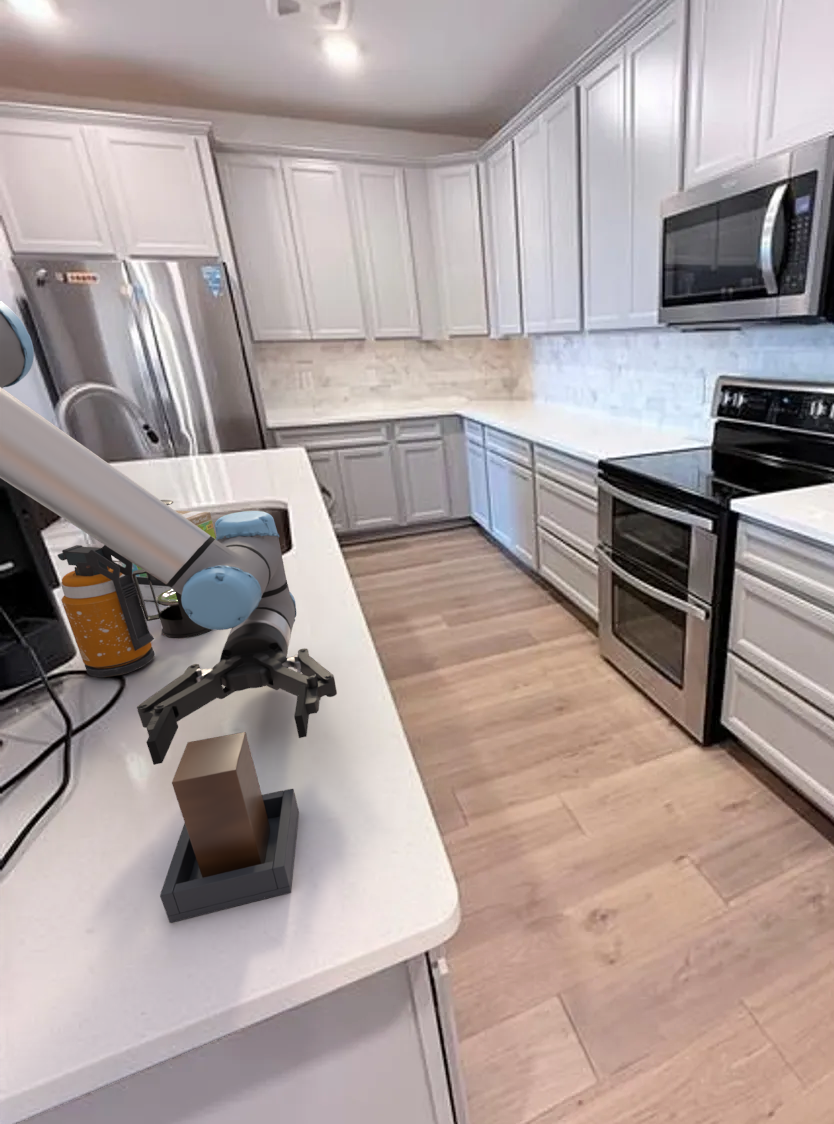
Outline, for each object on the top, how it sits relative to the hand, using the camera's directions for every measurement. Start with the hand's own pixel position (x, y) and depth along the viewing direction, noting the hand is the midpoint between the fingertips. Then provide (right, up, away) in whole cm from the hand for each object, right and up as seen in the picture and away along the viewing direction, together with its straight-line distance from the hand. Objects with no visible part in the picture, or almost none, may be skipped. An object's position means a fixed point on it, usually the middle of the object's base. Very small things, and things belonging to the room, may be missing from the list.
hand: (229, 739), depth 63 cm
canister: (-35, +3, +34) cm, 49 cm away
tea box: (-45, +16, +65) cm, 81 cm away
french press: (-33, +8, +47) cm, 58 cm away
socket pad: (+2, -11, -2) cm, 12 cm away
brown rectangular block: (+2, -11, -3) cm, 11 cm away
